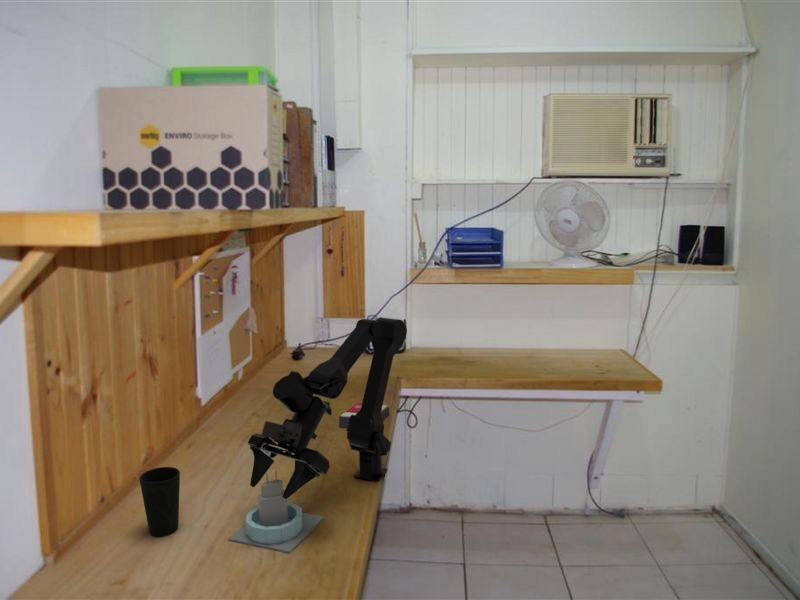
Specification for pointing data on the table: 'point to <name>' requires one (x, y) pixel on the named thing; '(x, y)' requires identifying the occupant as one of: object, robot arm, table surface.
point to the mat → (307, 526)
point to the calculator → (354, 410)
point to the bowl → (274, 527)
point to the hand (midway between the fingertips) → (267, 492)
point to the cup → (161, 500)
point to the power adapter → (272, 503)
